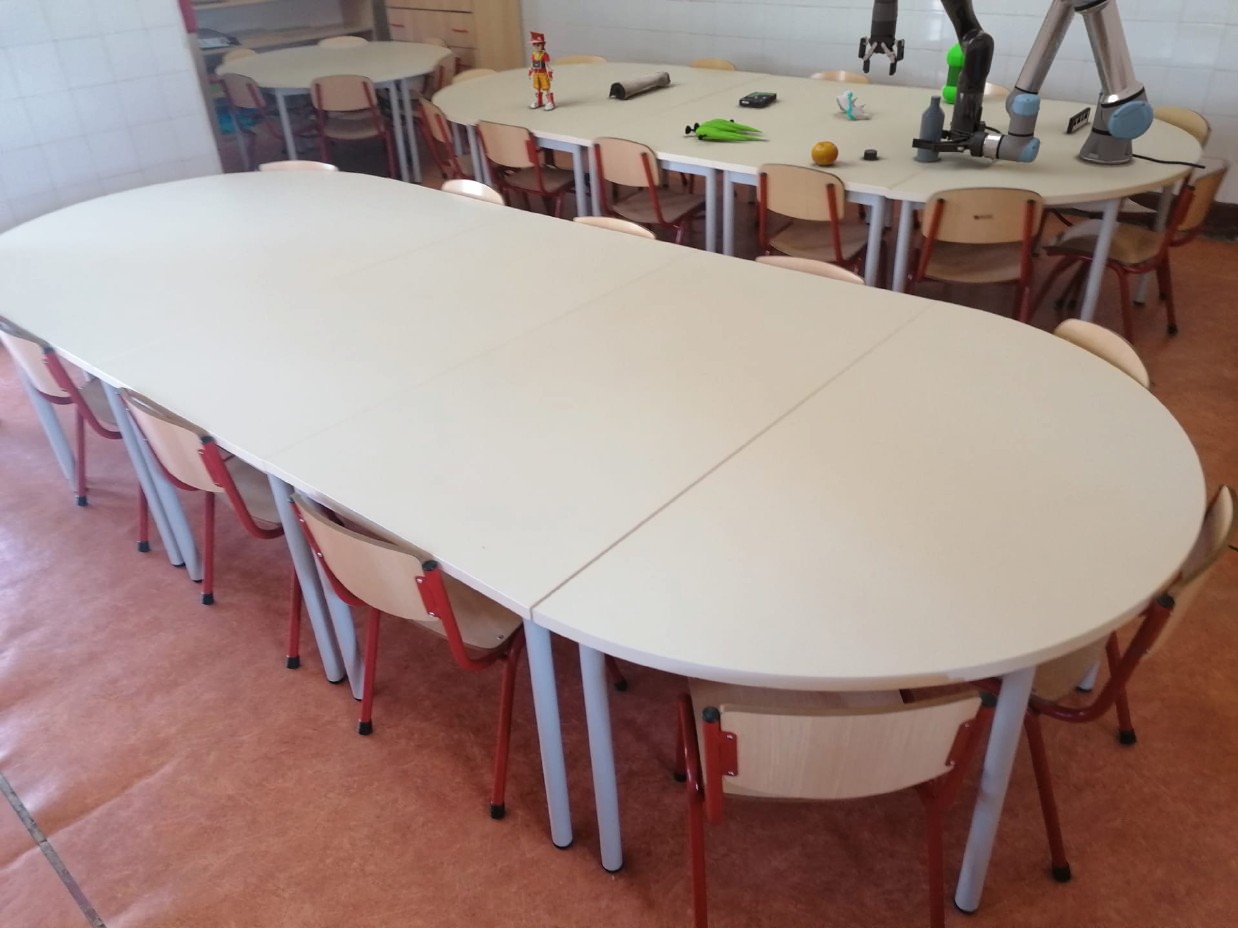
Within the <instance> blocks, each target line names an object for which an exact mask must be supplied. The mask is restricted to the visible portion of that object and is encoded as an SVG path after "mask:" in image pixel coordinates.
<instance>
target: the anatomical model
mask: <svg viewBox="0 0 1238 928" xmlns="http://www.w3.org/2000/svg"><path fill="white" fill-rule="evenodd" d="M853 96H854V94H853V91H850V90H849V89H845V90H844V92H843V93H842V94H839V95H837V96H836V103H837V105H838V107H839V109H840V111H842V112H845V113H846V115H847V117H848V118H849V119H850V120H853V121H854V120H857V119H861V118H865V119H866V118H869V117H870V114H869V113H865V112H863V110H864V108H865V107H866V103H861V104H859V105H855V102H856V101H857V100H858V97H854V98H853Z"/></svg>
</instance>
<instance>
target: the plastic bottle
mask: <svg viewBox="0 0 1238 928" xmlns="http://www.w3.org/2000/svg"><path fill="white" fill-rule="evenodd" d="M964 59H965V56H964V55H963V53H962V51H961V48H960V45H959V42H957V43H956V44H954V45H953V46H952V47H951V48H950V49H949V50H948V52H947V54H946V63H947V64H948V69H947V70H948V71H947V76H946V77H947V78H946V84H945V85H944V87H943V90H942V97H943V99H944V100H945V101H946V102H947V103H948V104H954V103H955V96H956V90H957V83H958V77H959V74H960V72H961V71H962V69H963V65H964Z"/></svg>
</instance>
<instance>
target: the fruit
mask: <svg viewBox="0 0 1238 928" xmlns="http://www.w3.org/2000/svg"><path fill="white" fill-rule="evenodd" d="M810 156H811V159H812V161H813V163H815V164H816V165H819V166H829V165H832V164H834V163H835V162H836V161H837V159H838V158H839V157H838V156H839V148H838V147H837V145H836V144H835V143H834V142H831V141H827V140H826V141H825V140H824V141H819V142H817V143H816V144H815V145H814V146H813V147H812V149H811V154H810Z"/></svg>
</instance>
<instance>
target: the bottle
mask: <svg viewBox="0 0 1238 928" xmlns="http://www.w3.org/2000/svg"><path fill="white" fill-rule="evenodd" d="M941 99H942V95H931V96H930V104H929V105H928V107H926V109H924V111H923V112H922V113H921V121H920V126H919V127H920V128H919V134H918V139H924V140H932V141H933V140H935V142H939V141H942V140H943V139H942V132H943V130H944V125H945V119H946V114H945V111H944V109H943V108H942V106H941ZM916 149H917V150H916V156H915V159H916V160H917V161H918V162H922V163H933V162H937V161H939V159H940V152H934V153H933V152H931V150H929V149H921V148H916Z"/></svg>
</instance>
